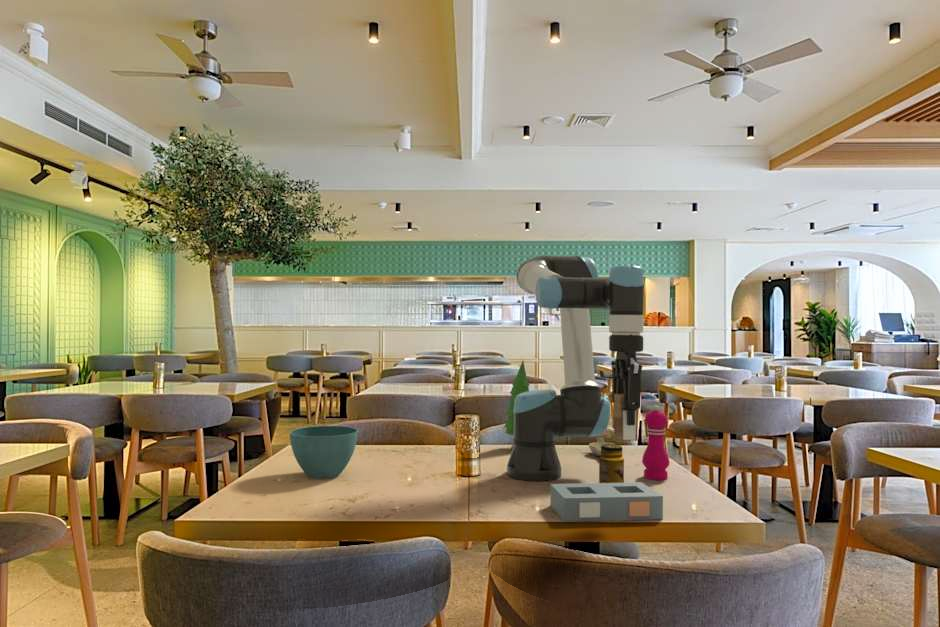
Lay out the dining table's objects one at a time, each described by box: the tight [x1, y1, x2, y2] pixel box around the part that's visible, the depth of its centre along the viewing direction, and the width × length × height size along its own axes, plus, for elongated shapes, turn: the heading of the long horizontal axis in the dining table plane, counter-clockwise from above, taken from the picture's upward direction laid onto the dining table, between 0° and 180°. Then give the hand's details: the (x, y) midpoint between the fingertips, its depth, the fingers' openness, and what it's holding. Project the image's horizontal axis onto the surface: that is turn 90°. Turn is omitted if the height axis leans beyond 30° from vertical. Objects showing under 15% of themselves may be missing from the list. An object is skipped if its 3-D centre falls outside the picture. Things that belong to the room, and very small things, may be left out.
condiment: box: [598, 443, 625, 483], centre depth 158 cm, size 7×8×12 cm
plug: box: [613, 394, 639, 442], centre depth 143 cm, size 4×4×10 cm
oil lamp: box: [588, 428, 617, 457], centre depth 204 cm, size 9×21×10 cm, turn 176°
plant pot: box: [289, 425, 359, 480], centre depth 173 cm, size 18×18×12 cm
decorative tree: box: [503, 360, 530, 450], centre depth 213 cm, size 10×9×30 cm
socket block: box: [549, 481, 664, 523], centre depth 142 cm, size 22×13×5 cm, turn 97°
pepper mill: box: [641, 404, 670, 481], centre depth 175 cm, size 7×7×20 cm
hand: (625, 437), depth 143 cm, fingers closed on plug, 4 cm apart
